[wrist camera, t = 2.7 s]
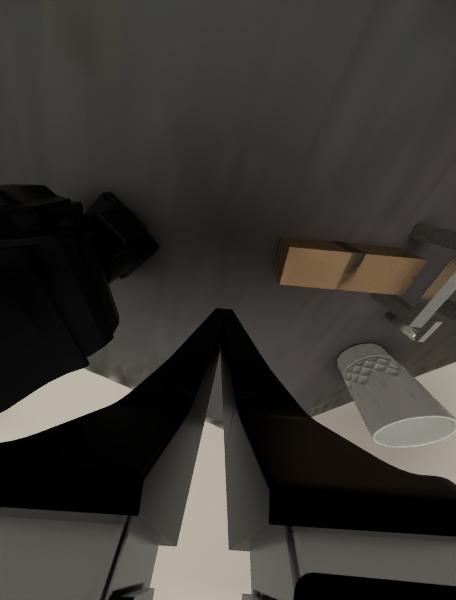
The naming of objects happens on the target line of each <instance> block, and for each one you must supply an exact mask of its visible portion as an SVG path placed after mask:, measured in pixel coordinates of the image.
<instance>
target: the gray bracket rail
mask: <svg viewBox="0 0 456 600" xmlns="http://www.w3.org/2000/svg"><path fill="white" fill-rule="evenodd" d="M409 237H411V238H414V239H418V240H421V241H425V242H428V243H431V244H435V245H438V246H442V247H445V248H448V249H452V250H455V251H456V230H451V229H446V228H441V227H436V226H431V225H422V224H417V225H416V227H415V228H414V230H413V232H412V233H411V235H410V236H409ZM455 290H456V255H455V256H454V258H453V259H452V260H451V261H450V262H449V264H448V265H447V266H446V267H445V269H444V270H443V271H442V272H441V274H440V275H439V276H438V277H437V278H436V280H435V281H434V282H433V283H432V285H431V286H430V287H429V288H428V290H427V291H426V292H425V293H424V294H423V296H422V297H421V298H420V299H419V301H418V302H417V303H416V304H415V306H414V307H413V306H412V305H410V304H409V303H407V302H406V301H405V300H403V299H402V298H400V297H399V296H397V295H391V294H380V293H374V294H373V295H372V297H373V298H374V299H375V300H377V301H378V302H379V303H380V304H382V305H383V306H384V307H385V308H387V309H388V310H389V311H390V312H388V313H387V314H386V315H385V317H386V318H387V319H388V320H389V321H391V322H392V323H393V324H394V325H395V326H396V327H397V328H399V329H400V330H401V331H402V332H403V333H404V334H405V335H407V336H408V337H409V338H410V339H411V340H416V341H418V342H424V341H425V340H426V339H427V338H428V337H429V336H430V335H431V334H432V333H433V332H434V331H435V330H436V329H437V328H438V327H439V326H440V325H441V324H442V323H443V322H442V321H440V320H439V319H437V318H431V319H430V320H429V321H428V322H427V320H428V319H429V318H430V317H431V316H432V315H433V314H434V313H435V312H436V311H438V312H439V313H441V314H442V315H444V316H446V317H447V318H449V319H450V320H452V321H454V322H455V323H456V303H455V302H453V301H451V300H449V299H448V297H449V296H450V295H451V294H452V293H453V292H454V291H455ZM426 322H427V323H426ZM425 323H426V324H425ZM424 324H425V325H424ZM423 325H424V326H423ZM422 326H423V327H422ZM412 327H420V328H421V327H422V328H421V329H420V331H419V332H417V331H416V330H415V329H414V328H412Z"/></svg>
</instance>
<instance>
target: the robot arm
mask: <svg viewBox="0 0 456 600" xmlns="http://www.w3.org/2000/svg"><path fill="white" fill-rule="evenodd" d="M107 195H108V196H109V198H110V201H109V200H108V199H107ZM82 211H84V210H83V207H82V204H81V202H80V201H71V200H70V198H63V197H60V196H57V195H56V194H55V193H53V192H52V191H51V190H50V189H49V188H48V187H46V186H45V185H20V184H11V185H0V413H1V412H3V411H5V410H7V409H8V408H10V407H11V406H13V405H14V404H16V403H17V402H19V401H20V400H22V399H23V398H25V397H26V396H28V395H29V394H31V393H32V392H34V391H35V390H37V389H39V388H40V387H42V386H44V385H45V384H47V383H48V382H50V381H52V380H55V379H56V378H59V377H61V376H63V375H65V374H67V373H69V372H73V371H76V370H78V369H82V368H85V367H87V366H88V365H89V361H88V360H87V357H89V356H91V355H92V354H94V353H95V352H97V351H99V350H100V349H102V348H103V347H104V346H106V345H107V344H108V343H109V342H110V341H111V340H112V339H113V338H114V336H113V333H114V332H115V330H116V328H117V326H118V324H119V314H118V311H117V308H116V305H115V302H114V299H113V296H112V293H111V290H110V287H109V284H110V283H111V282H113V281H114V280H115V279H116V278H118V277H119V278H121V279H124V278H125V277H127V276H128V275H129V274H130V273H131V272H133V271H134V270H135V269H136V268H137V267H139V266H140V265H141V264H142V263H143V262H145V261H146V260H147V259H148V258H149V257H151V256H152V255H153V254H154V253H155V252H157V251H158V250H159V245H158V244H157V243H156V242H155V241H154V239H153V238H152V237H151V236H150V235H149V234H148V233H147V231H146V228H145V227H144V226H143V225H142V224H141V223H140V222H139V221H138V220H137V218H136V217H135V216H134V215H133V214H132V213H131V212H130V211H129V209H128V208H126V207H124V206H123V205H122V204H121V203H120V202H119V201H118V200H117V198H116V197H115V196H114V195H113V194H112V193H110V192H103V193H102V194H101V195H100V196H99V198H98V199H97V200H96V201H95V202H94V204H93V205H92V206H91V207H90V208H89V209H88V211H87V212H86V213H85V214H83V212H82ZM152 245H153V246H155V249H153V248H152ZM122 274H123V275H122ZM223 315H224V316H223ZM221 338H222V339H221ZM220 349H221V374H222V397H223V420H224V444H225V467H226V491H227V515H228V538H229V550H238V551H250V560H251V561H250V562H251V588H252V594H243V595H242V600H456V484H454V483H453V482H451V481H450V480H448V479H446V478H442V477H438V476H428V475H417V474H413V473H409V472H406V471H403V470H400V469H398V468H396V467H394V466H392V465H389V464H388V463H386V462H384V461H382V460H380V459H378V458H377V457H375V456H373V455H372V454H370V453H368V452H367V451H365V450H363V449H362V448H360V447H358V446H357V445H355V444H353V443H351V442H350V441H348V440H347V439H345V438H343V437H341V436H340V435H338V434H337V433H335V432H333V431H331V430H330V429H328V428H326V427H325V426H323V425H321V424H320V423H318V422H317V421H315V420H314V419H313V418H311V417H310V416H309V415H308V414H307V413H306V412H305V411H304V410H303V409H302V408H301V407H300V405H299V404H298V403H297V402H296V400H295V399H294V398H293V397H292V396H291V394H290V393H289V392H288V391H287V389H286V388H285V387H284V386H283V384H282V383H281V382H280V381H279V380H278V378H277V377H276V376H275V374H274V373H273V372H272V370H271V369H270V368H269V366H268V365H267V363H266V362H265V360H264V359H263V357H262V356H261V354H260V353H259V351H258V350H257V348H256V346H255V345H254V343H253V342H252V340H251V338H250V337H249V335H248V334H247V332H246V331H245V329H244V327H243V326H242V324H241V323H240V321H239V320H238V318H237V316H236V315H235V313H234V312H233V310H232V309H222V308H216V309H215V310H214V311H213V312H212V313H211V314H210V315H209V316H208V317H207V318H206V320H205V321H204V322H203V323H202V324H201V325H200V326H199V327H198V328H197V329H196V330H195V331H194V332H193V334H192V335H191V336H190V337H189V338H188V339H187V340H186V341H185V342H184V343H183V344H182V345H181V347H179V348H178V350H177V351H176V352H175V353H174V354H173V355H172V356H171V357H170V358H169V359H168V360H167V361H166V362H165V363H164V364H162V365H161V366H160V367H159V368H158V369H157V370H156V371H155V372H153V373H152V374H151V375H150V376H149V377H148V378H146V379H145V380H144V381H143V382H142V383H141V384H139V385H138V386H137V387H136V388H135V389H134V390H132V391H131V392H130V393H129V394H128V395H126V396H125V397H123V398H122V399H121V400H119V401H117V402H116V403H114V404H112V405H110V406H107V407H105V408H102V409H100V410H97V411H94V412H92V413H89V414H87V415H84V416H81V417H79V418H76V419H74V420H71V421H68V422H66V423H63V424H60V425H58V426H55V427H53V428H50V429H47V430H45V431H42V432H40V433H37V434H34V435H31V436H28V437H25V438H21V439H17V440H14V441H9V442H2V443H0V600H152V599H153V594H154V588H149V587H150V583H151V578H152V573H153V568H154V564H155V559H156V555H157V550H158V545H163V546H177V542H178V537H179V533H180V528H181V524H182V519H183V515H184V510H185V506H186V501H187V497H188V493H189V488H190V484H191V479H192V475H193V470H194V466H195V461H196V457H197V452H198V448H199V443H200V439H201V435H202V430H203V426H204V421H205V417H206V412H207V408H208V403H209V399H210V395H211V390H212V386H213V381H214V377H215V372H216V368H217V363H218V359H219V354H220Z"/></svg>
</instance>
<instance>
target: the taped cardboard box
mask: <svg viewBox="0 0 456 600" xmlns="http://www.w3.org/2000/svg"><path fill="white" fill-rule="evenodd" d="M427 261H428V260H427V259H425V258H422V257H419V256H417V255H414V254H411V253H409V252H406V251H404V250H401V249H398V248H394V247H383V246H372V245H362V244H351V243H345V242H335V241H333V242H329V241H319V240H308V239H297V238H286V237H281V238H280V242H279V246H278V250H277V255H276V259H275V263H274V267H273V271H274V273H275V275H276V278H277V280H278V282H279V284H280V285H291V286H302V287H313V288H325V289H334V290H342V291H358V292H369V293H380V294H391V295H403V294H404V292H405V291H406V290H407V288H408V287H409V285H410V284H411V283H412V281H413V280H414V279H415V277H416V276H417V275H418V273H419V272H420V270H421V269H422V268H423V266H424V265H425V264H426V262H427Z"/></svg>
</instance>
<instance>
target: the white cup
mask: <svg viewBox="0 0 456 600" xmlns="http://www.w3.org/2000/svg"><path fill="white" fill-rule="evenodd" d="M337 366H338V368H339V370H340V372H341V374H342V376H343V378H344V381H345V383H346V386H347V388H348V389H349V391H350V394H351V396H352V398H353V400H354V402H355V404H356V406H357V408H358V410H359V412H360V414H361V416H362V418H363V420H364V422H365V424H366V426H367V428H368V430H369V432H370V434H371V436H372V438H373V440H374V441H375V442H376V443H377V444H379V445H382V446H386V447H395V448H397V447H398V448H404V447H415V446H422V445H427V444H431V443H435V442H437V441H441V440H443V439H446V438H448V437H450V436H452V435H453V434H455V433H456V419H455V418H454V417H453V416H452V415H451V414H450V413H449V412H448V411H447V410H446V409H445V408H444V407H443V406H442V405H441V404H440V403H439V402H438V401H437V400H436V399H435V398H434V397H433V396H432V395H431V394H430V393H429V392H428V391H427V390H426V389H425V388H424V387H423V386H422V385H421V384H420V383H419V382H418V381H417V380H416V379H415V378H414V377H413V376H411V375H410V373H409V372H408V371H407V370H406V369H405V368H403V367H402V366H401V365H400V364H399V363H398V362H396V361H395V360H394V359H393V358H392V357H391V356H390V355H389V354H388V353H387V352H386V351H385V350H384V349H383V348H382V347H381V346H379V345H376V344H372V343H367V344H359V345H355V346H353V347H350V348H348V349H347V350H345V351H344V352H342V353H341V354H340V356H339V357H338V359H337Z"/></svg>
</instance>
